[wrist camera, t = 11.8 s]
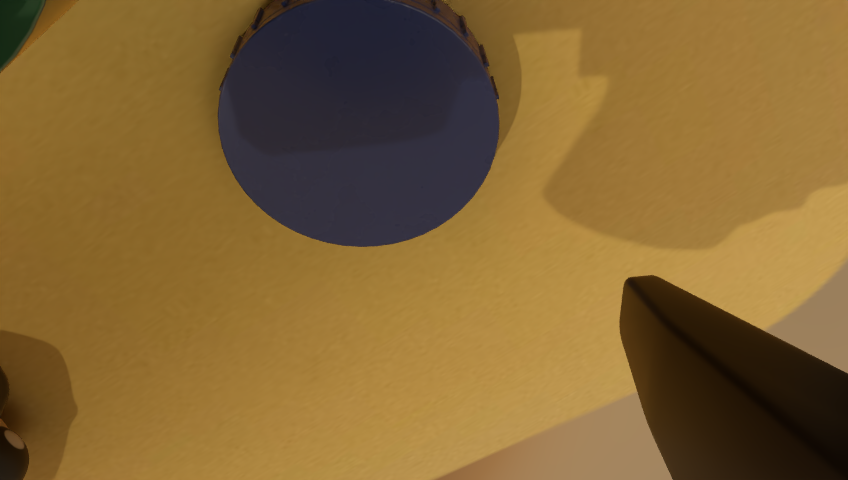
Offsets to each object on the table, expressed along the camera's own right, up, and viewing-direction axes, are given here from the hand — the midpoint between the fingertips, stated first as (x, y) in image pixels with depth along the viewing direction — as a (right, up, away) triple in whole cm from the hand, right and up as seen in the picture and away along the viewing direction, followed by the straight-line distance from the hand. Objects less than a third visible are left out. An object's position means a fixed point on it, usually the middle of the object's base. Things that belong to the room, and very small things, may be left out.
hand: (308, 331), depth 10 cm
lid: (0, +4, +7) cm, 8 cm away
